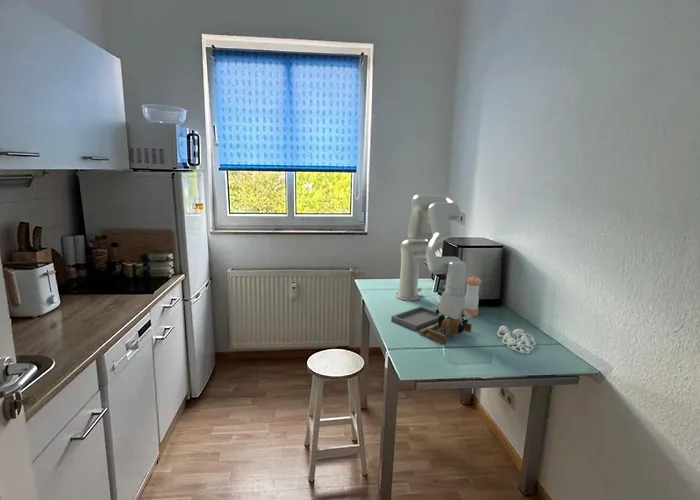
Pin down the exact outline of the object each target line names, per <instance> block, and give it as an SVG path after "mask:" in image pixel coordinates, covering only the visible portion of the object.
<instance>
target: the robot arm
mask: <svg viewBox="0 0 700 500" xmlns="http://www.w3.org/2000/svg"><path fill="white" fill-rule="evenodd" d="M410 208H411V214H410V218H409V223H408V227H407V233H406V234H407V237H408V238H409V239H405V240H403V241H402V242H401V243H400V255H401V258H400V259H401V261H400V275H399V286H398V292H396V293H395V297H396V298H397V299H399V300H402V301H409V302H413V301H418V300H419V299H420V295H419V294H418V293H420V292H422V288H421V287H419V286H418V283H419V273H420V265H419V263H418V261H417V260H416V259H417V258H425V259H426V262H427V263H426V264H427V268H428V271H429V272H430V273H431V274H433V275H446V279H445V284H443V285H442V286H443V287H442V288H444V291H443V292H442V295H441V297H440V298H441V299H440V301H439V303H436V304H434V305H433V306H434V308H435V310H434V311H436V313H437V314H438V315H437V316H438V317H439V318H438V326H441V325H442V322H443V320H444V316H445V318H447V317H449V318H452V319H455V320H458V321H459V323H460V324H459V326H458V332H457V334H459V335H460V334H463V333H464V332H465V331H464V326H465V324H466V323H470V320H471V319H472V317H473V316H471V315H470V314H469V313H467V312H466V311H465V295H466V294H465V287H466V286H465V285H466V279H467V278H466V277H467V269H468V267H467V266H468V265H467V263H466V262H465V261H462V260H461V259H460V258H459V257H457V256H437V255H436V245H437V244H439V243H440V242H441V243H442V242H443V241H445V240H447V239H450V237H452V234H453V232H452V228H451V223H450V222H456V221H458V220H459V219H460V217H461V210H460V206H459V204H458V203H457V202H456V201H455V200H453V199H452V198H450V197H449V196H447V195H443V194H425V193H423V194H422V193H421V194H419V193H418V194H415V195H414V196H413V197H412V198H411V202H410ZM443 315H444V316H443Z"/></svg>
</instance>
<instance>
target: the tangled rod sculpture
mask: <svg viewBox="0 0 700 500" xmlns="http://www.w3.org/2000/svg"><path fill="white" fill-rule="evenodd" d="M496 334H497V336H498V337H499V338H502V339H501V343H502V344H504V345H506V346H507V347H508V348H509V349H511V350H512V351H516V352H517V353H520V354H530V352H531V351H532V350H534V346H536V344H537V343H536V341H535V338H534V337H533V335H531V334H529V333H525V331H524V329H521V328H515V329H513V330H512V334H511V331H510V330H509V328H508V326H506V325H501V326H499V328H498V330H497V332H496ZM520 336H521V337H520ZM527 336H529V337H527ZM519 337H520V338H519ZM515 338H516V339H515ZM531 342H533V344H531ZM515 345H516V346H515ZM517 348H518V349H520V350H518V349H517ZM522 348H523V349H522Z"/></svg>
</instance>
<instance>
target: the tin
mask: <svg viewBox="0 0 700 500" xmlns="http://www.w3.org/2000/svg"><path fill="white" fill-rule="evenodd" d="M459 324H460V323H459V321H458V320H455V319H452V318H449V317H445V319H444V320H443V322H442V325H441V328H440V333H441V334H444V335H446V336H447V337H446V340H447V339H448V340H449V339H452V337H454V336H455V335H456V334H458V326H459Z"/></svg>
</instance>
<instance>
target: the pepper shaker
mask: <svg viewBox="0 0 700 500" xmlns="http://www.w3.org/2000/svg"><path fill="white" fill-rule="evenodd" d="M465 283H466V284H467V287H466V293H465V294H464V295H465V311H466V312H467V313H469V314H470V315H471V316H472V317H477V316H478V314H479V292H480V291H479V290H480V286H481V284H482V280H481V278H479V277H477V276H476V275H473V276H469V277H467V278H466V279H465Z"/></svg>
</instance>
